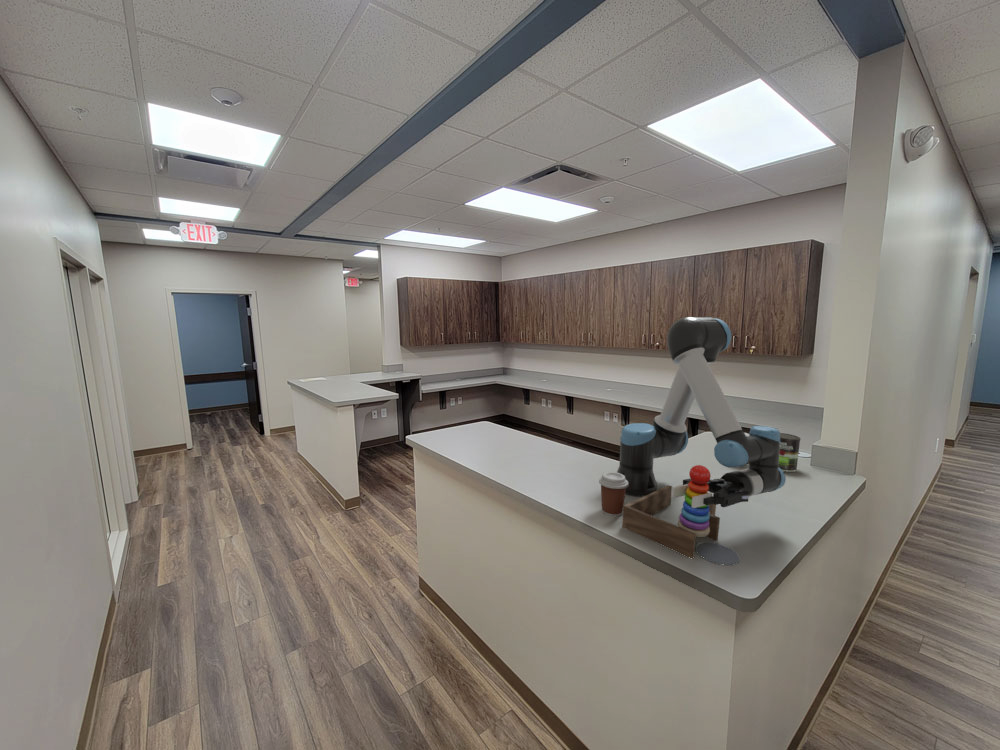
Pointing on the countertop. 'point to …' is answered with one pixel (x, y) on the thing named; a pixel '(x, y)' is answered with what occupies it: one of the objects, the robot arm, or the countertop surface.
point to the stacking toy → (699, 516)
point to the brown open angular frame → (663, 522)
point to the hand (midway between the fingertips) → (682, 497)
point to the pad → (717, 553)
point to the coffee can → (788, 452)
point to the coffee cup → (613, 493)
